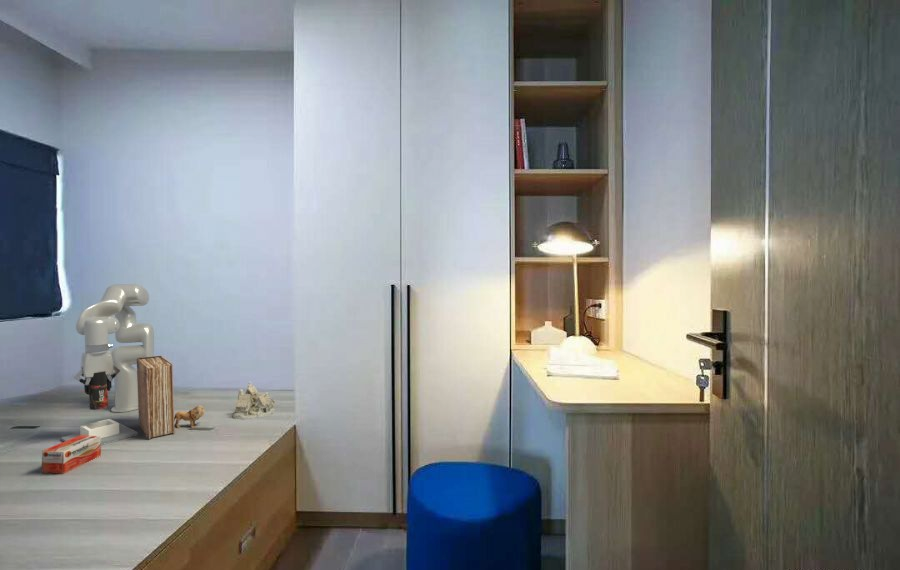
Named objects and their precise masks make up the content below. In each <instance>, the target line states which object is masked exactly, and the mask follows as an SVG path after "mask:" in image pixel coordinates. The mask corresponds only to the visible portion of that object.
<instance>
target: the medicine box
mask: <svg viewBox="0 0 900 570" xmlns="http://www.w3.org/2000/svg"><path fill="white" fill-rule="evenodd" d="M101 454H102V445H101V437H100V436H91V435H80V436H77V437H75V438H72V439H70V440H67V441H65V442H63V441H61V442H60V443H58V444H56V445H53V446H50V447H47V448H46V449H45V448H44V449H43V450H42V451H41V470H42V474H58V475H59V474H61V475H62V474H63V475H64V474H67V473H69V472H71V471H73V470H74V469H75V470H76V469H77V468H79V467H81V466H83V465H86V464H87V462H88V463H90V462H91V460H92V461H94V460H96V459H98V458H100V457H101ZM99 456H100V457H99ZM97 457H98V458H97ZM95 458H96V459H95ZM93 459H94V460H93ZM89 461H90V462H89ZM85 463H86V464H85Z"/></svg>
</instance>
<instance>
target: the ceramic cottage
mask: <svg viewBox="0 0 900 570" xmlns="http://www.w3.org/2000/svg"><path fill="white" fill-rule="evenodd" d="M275 404H276V401H275V400H274V399H273V397H270V396H269V392H265V393H259V391H258V390H257V388H256V386H255V385H253V383H252V381H249V382H248V384H247V388H246V391H245V393H244V389H243V388H242V389H241V388H240V389H238V396H237V401H236V403H235V406H234V407H235V411H234V412H233V415H232V419H233V420H248V419H254V418H260V417H267V416H270V415H272V414H274V413H275V412H276V411H275V408H274V407H275Z"/></svg>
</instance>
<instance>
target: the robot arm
mask: <svg viewBox="0 0 900 570" xmlns="http://www.w3.org/2000/svg"><path fill="white" fill-rule="evenodd" d="M149 300H150V294H149V292H148V290H147V289H146V288H145V287H143V286H142V285H139V284H136V283H133V284H132V283H127V284H117V283H116V284H112V285H109V286H108V287H107V288H106V289H105V291H104V293H103V296H102V297H101V299H100V301H99V302H97V303H94V304H92V305H91V306H90V305H89V307H86V308H85V309H84V310H82V312H80V315H79V317H78V318H77V321H76V324H75V330H76V332H77V333H78V334H79V335H81V336H84V352H83V353H82V355H81V361H80V369H79V371H78V372H77V373H76V374H75V375H74V376H73V379H74V380H76V381H78V382H79V383H81V384H83V385H84V386H83V387H84V393H85V394H86V395H88V396H89V395H90V394H91V385H89V382H90V380H91V378H92V377H93V375H94V373H98V372H104V371H106V375H107V392H110V391H111V389H112V387H113V386H112V381H113V379H114V381H113V382H114V406H113V407H112V408H111V409H110V411H111V412H112V413H125V412H126V413H127V412H131V411H136V410H138V383H137V368H135V367H134V366H133V365H137V359H138V358H146V357H155V331H154V328H153V325H151V324H150V323H144V322H143V323H137V314H136V311H135V310H134V309H133V308H131V307H143V306H146V305H147V304H148V303H149ZM110 334H111V335H113V334H114V336H115V340H116V342H117V343H119V344H132V343H135V345H120V346H118V347H114V348H113V344H110V343H109V335H110ZM137 343H142V344H137ZM111 348H113V349H112V351H111V350H110V349H111ZM82 377H84V379H83V378H82Z"/></svg>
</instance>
